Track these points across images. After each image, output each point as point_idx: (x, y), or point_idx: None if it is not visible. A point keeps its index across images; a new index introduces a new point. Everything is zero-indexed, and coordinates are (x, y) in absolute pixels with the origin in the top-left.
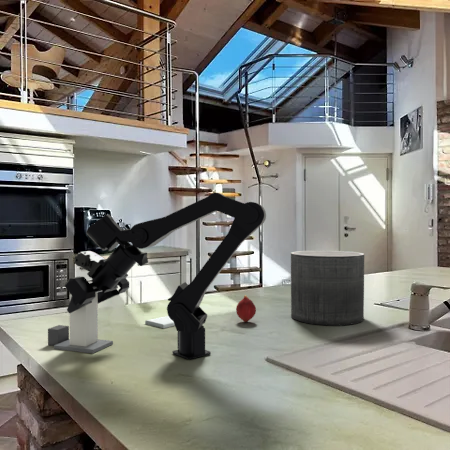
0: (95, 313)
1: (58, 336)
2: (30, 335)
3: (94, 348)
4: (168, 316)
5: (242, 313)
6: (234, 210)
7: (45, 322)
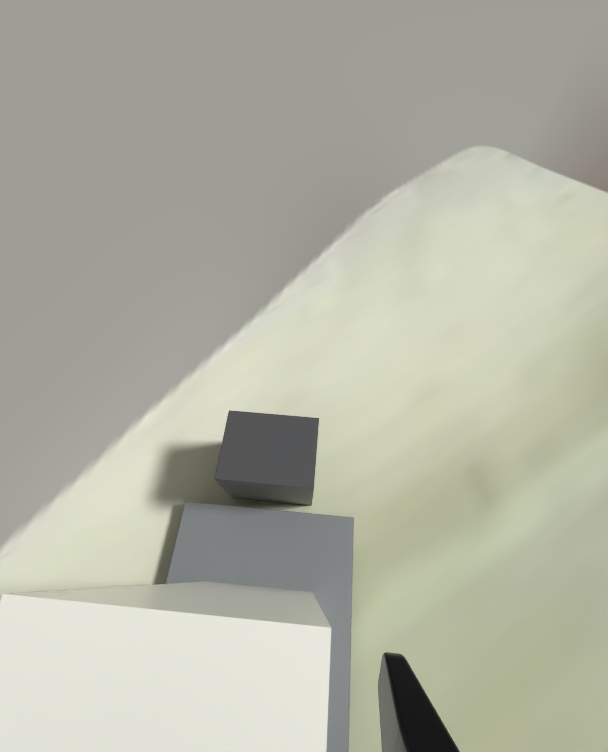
0: None
1: (226, 488)
2: (355, 296)
3: None
4: None
5: None
6: None
7: (533, 240)
